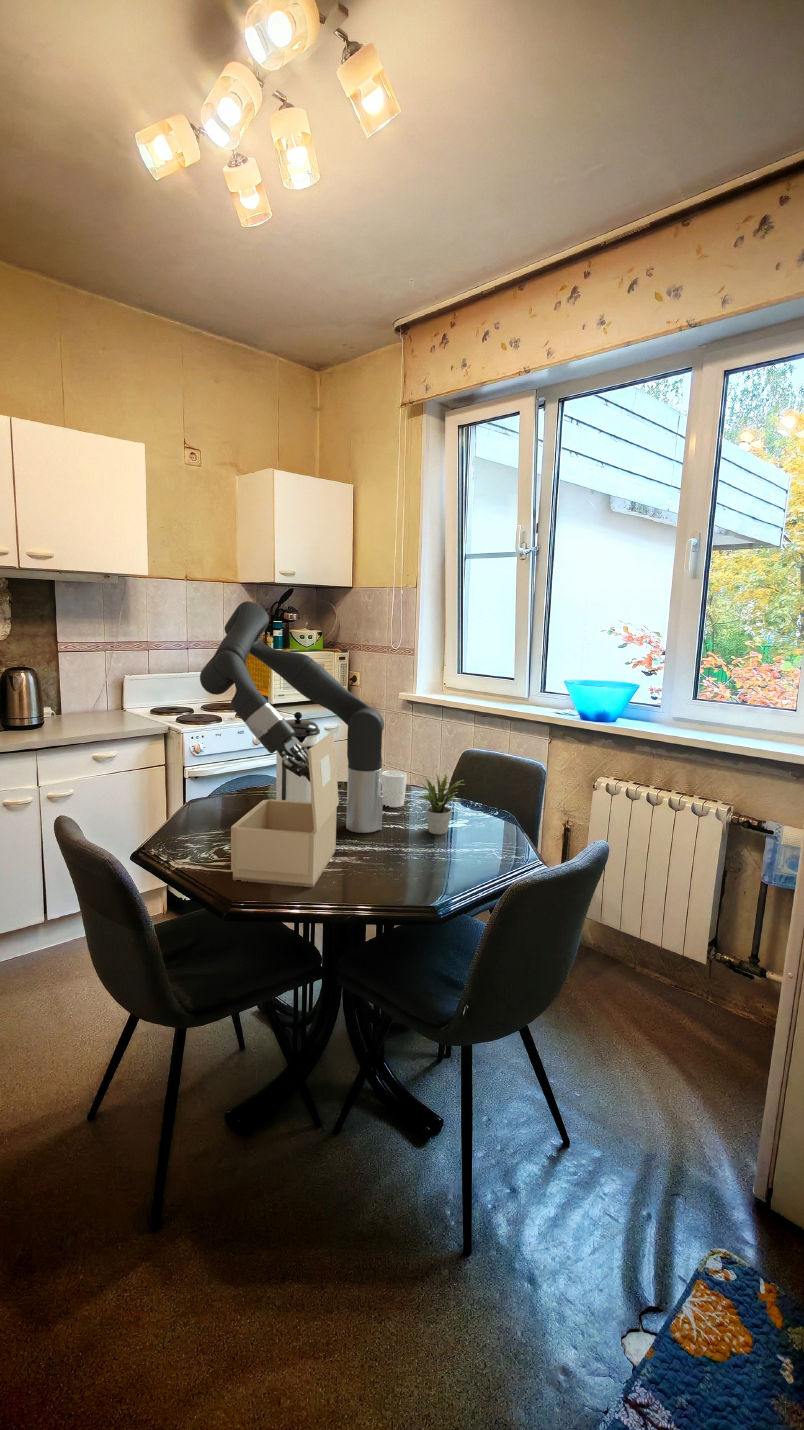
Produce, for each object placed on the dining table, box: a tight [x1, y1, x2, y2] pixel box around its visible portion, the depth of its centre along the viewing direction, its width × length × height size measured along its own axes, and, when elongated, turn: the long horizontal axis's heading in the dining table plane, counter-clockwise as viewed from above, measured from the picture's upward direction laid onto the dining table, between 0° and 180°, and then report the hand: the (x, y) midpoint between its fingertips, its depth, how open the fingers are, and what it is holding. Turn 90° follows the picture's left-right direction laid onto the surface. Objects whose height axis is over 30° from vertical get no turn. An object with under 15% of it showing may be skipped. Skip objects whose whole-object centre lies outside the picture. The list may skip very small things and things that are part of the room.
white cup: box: [381, 769, 408, 808], centre depth 203 cm, size 8×8×10 cm
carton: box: [230, 798, 338, 888], centre depth 151 cm, size 19×23×12 cm
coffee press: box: [275, 711, 321, 802], centre depth 191 cm, size 17×16×30 cm
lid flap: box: [308, 731, 340, 833], centre depth 148 cm, size 18×22×1 cm
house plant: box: [417, 773, 466, 835], centre depth 178 cm, size 14×14×16 cm
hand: (320, 785), depth 148 cm, fingers closed
